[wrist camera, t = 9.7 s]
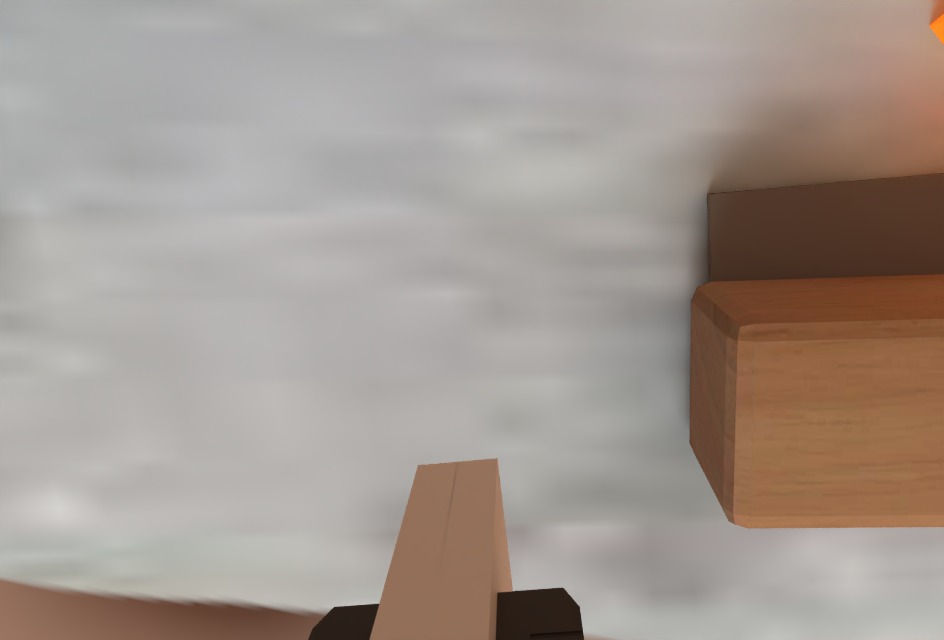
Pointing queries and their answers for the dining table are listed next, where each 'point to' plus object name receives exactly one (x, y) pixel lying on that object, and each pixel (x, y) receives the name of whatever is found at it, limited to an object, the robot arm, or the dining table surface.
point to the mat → (829, 230)
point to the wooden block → (821, 400)
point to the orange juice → (939, 28)
